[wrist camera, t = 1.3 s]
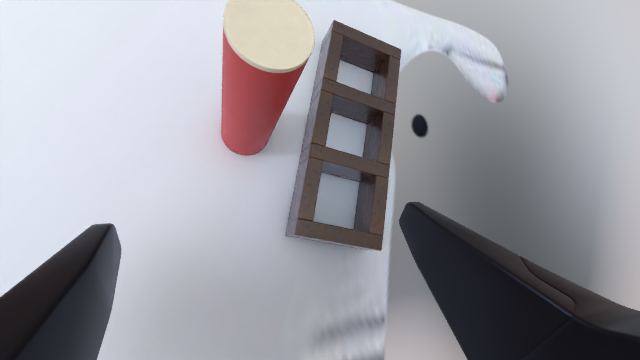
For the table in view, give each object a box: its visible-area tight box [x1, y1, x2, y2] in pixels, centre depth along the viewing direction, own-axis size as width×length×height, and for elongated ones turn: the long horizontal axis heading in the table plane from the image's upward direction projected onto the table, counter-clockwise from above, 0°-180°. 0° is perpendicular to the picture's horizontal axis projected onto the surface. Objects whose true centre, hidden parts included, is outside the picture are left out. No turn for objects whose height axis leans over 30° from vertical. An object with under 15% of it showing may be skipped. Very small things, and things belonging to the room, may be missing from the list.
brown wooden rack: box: [286, 20, 401, 251], centre depth 25 cm, size 19×7×3 cm, turn 169°
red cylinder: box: [221, 0, 315, 155], centre depth 17 cm, size 4×4×12 cm
